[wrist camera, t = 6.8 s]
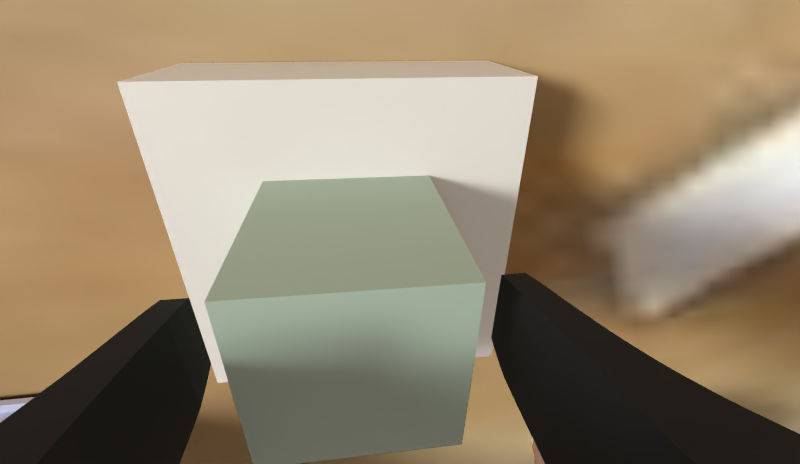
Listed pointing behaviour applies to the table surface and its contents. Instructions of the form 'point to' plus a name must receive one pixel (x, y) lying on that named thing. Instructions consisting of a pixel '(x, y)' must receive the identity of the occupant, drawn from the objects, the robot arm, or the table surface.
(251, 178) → the painted block
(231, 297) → the green cube
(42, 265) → the table surface
